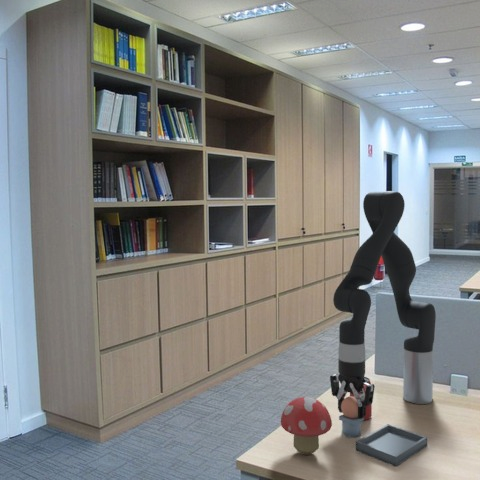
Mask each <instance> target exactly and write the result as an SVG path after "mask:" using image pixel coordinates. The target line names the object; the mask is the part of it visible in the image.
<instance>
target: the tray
mask: <svg viewBox="0 0 480 480" xmlns="http://www.w3.org/2000/svg"><path fill="white" fill-rule="evenodd" d="M426 447H428V437H427V436H424V435H421V434H418V433H416V432H413V431H409V430H406V429H403V428H402V427H397V426H395V425H392V424H386V425H384V426H382V427H380V428H378V429H377V430H374V431H373V432H371V433H369V434H367V435H366V436H363V437H362V438H359V439H358V440H356V441H355V451H356V452H358V453H361V454H364V455H366V456H369V457H371V458H374V459H376V460H379V461H381V462H383V463H386V464H387V465H391V466H393V467H398V466H399V465H401V464H402V463H404V462H406V461H407V460H408V459H410V458H412V457H413V456H415V455H416V454H417V453H419V452H421V451H422V450H424V449H425V448H426Z"/></svg>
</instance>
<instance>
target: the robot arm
mask: <svg viewBox="0 0 480 480" xmlns="http://www.w3.org/2000/svg"><path fill="white" fill-rule="evenodd" d="M362 201H363V202H362V203H363V204H362V207H363V212H364V216H365V219H366V222H367V223H368V226H369V228H370V230H371V232H372V234H371V235H370V236H369V237H368V238H367V239H366V240H365V241H364V242H363V243H362V244H361V245H360V246H359V248H358V249H357V251H356V252H355V254H354V257H353V259H352V262H351V265H350V267H349V271H348V272H347V274H346V275H345V276H344V277H343V279H342V281H341V282H339V285H338V286H337V288H336V289H335V290H334V294H333V298H332V300H333V305H334V308H335V309H336V310H337V311H340V312H343V313H350V314H352V318H351V319H345V320H343V321H341V322H340V324H339V329H338V330H339V331H338V332H339V333H338V338H339V341H338V348H337V349H338V354H337V355H338V361H337V363H338V370H337V372H338V373H335V374H331V375H330V377H329V382H330V392H331V395H332V396H333V397H336V399H337V409H338V412H339V413H342V414H343V412H342V410H341V404H342V401H343V400H344V399H345V398H346V396H347V393H349V394H350V393H352V394H354V397H355V399H357V402H358V405H359V406H358V418H359V419H363V418H364V417H365V416H366V406H368V405H370V404H373V400H374V394H375V384H374V383H371V385H370V384H368V383H366V382H365V379H364V377H366V376H365V375H366V347H365V345H366V344H365V331H366V330H365V328H366V324H367V320H368V316H369V313H370V311H371V307H372V299H371V298H372V297H371V296H370V293H369V292H368V291H367V290H366V289H361V288H360V287H362V286H367V285H370V284H372V282H373V279H374V277H375V274H376V270H377V268H378V266H379V263H380V259H381V258H382V262H383V263H382V264H383V266H384V269H385V272H386V275H387V277H388V280H389V283H390V286H391V290H392V293H393V296H394V301H395V307H396V310H397V311H396V312H397V316H398V319H399V322H400V324H401V325H402V326H404V327H405V328H409V329H413V330H414V329H415V330H418V333H417V336H412V337H408V338H406V339H404V340H403V341H404V342H403V381H402V382H403V384H402V385H403V386H402V389H403V391H402V392H403V393H402V395H403V396H402V398H403V400H404V401H406V402H408V403H412V404H417V405H426V404H430V403H432V402H433V394H434V393H433V391H434V390H433V385H434V384H433V383H434V380H433V379H434V375H433V373H434V372H433V364H434V363H433V362H434V361H433V359H434V358H433V356H434V355H433V354H434V352H433V351H434V343H435V331H436V330H435V329H436V321H437V320H436V319H437V318H436V317H437V313H436V309H435V306H434V305H433V304H432V303H430V302H424V301H423V302H422V301H417V300H413V298H412V297H411V295H410V288H411V285H412V283H413V281H414V279H415V276H416V274H417V266H416V262H415V258H414V256H413V252H412V251H411V249H410V247H409V246H408V245H407V244H406V243H405V241H403V240H402V239H401V238H400V237H399V236H398V235H397V234H396V233H395V230H396V228H397V227H398V224H399V223H400V221H401V220H402V217H403V215H404V211H405V207H406V206H405V199H404V196H403V195H402V194H401V192H398V191H395V190H393V191H392V190H387V191H386V190H385V191H372V192H368V193H367V194H365V196H364V198H363V200H362ZM363 387H364V388H365V390H363ZM364 391H366V392H365V393H364ZM359 392H360V394H358V393H359Z"/></svg>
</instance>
